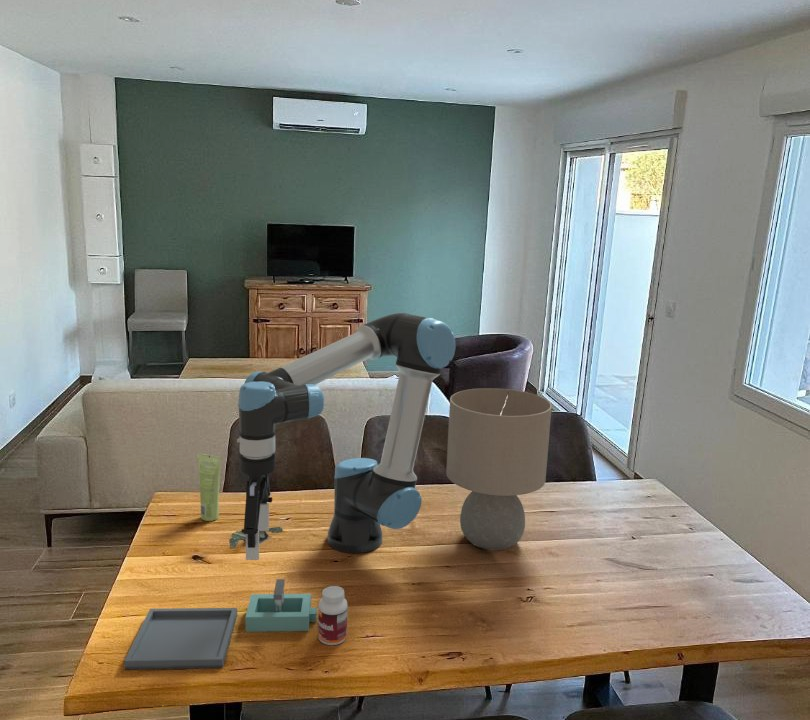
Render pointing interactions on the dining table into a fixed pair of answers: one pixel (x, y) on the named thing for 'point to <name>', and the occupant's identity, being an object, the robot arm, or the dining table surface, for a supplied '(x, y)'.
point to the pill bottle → (332, 616)
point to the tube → (209, 486)
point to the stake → (279, 595)
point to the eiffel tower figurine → (241, 536)
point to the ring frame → (280, 613)
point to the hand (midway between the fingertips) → (257, 544)
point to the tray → (182, 639)
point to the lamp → (497, 460)
